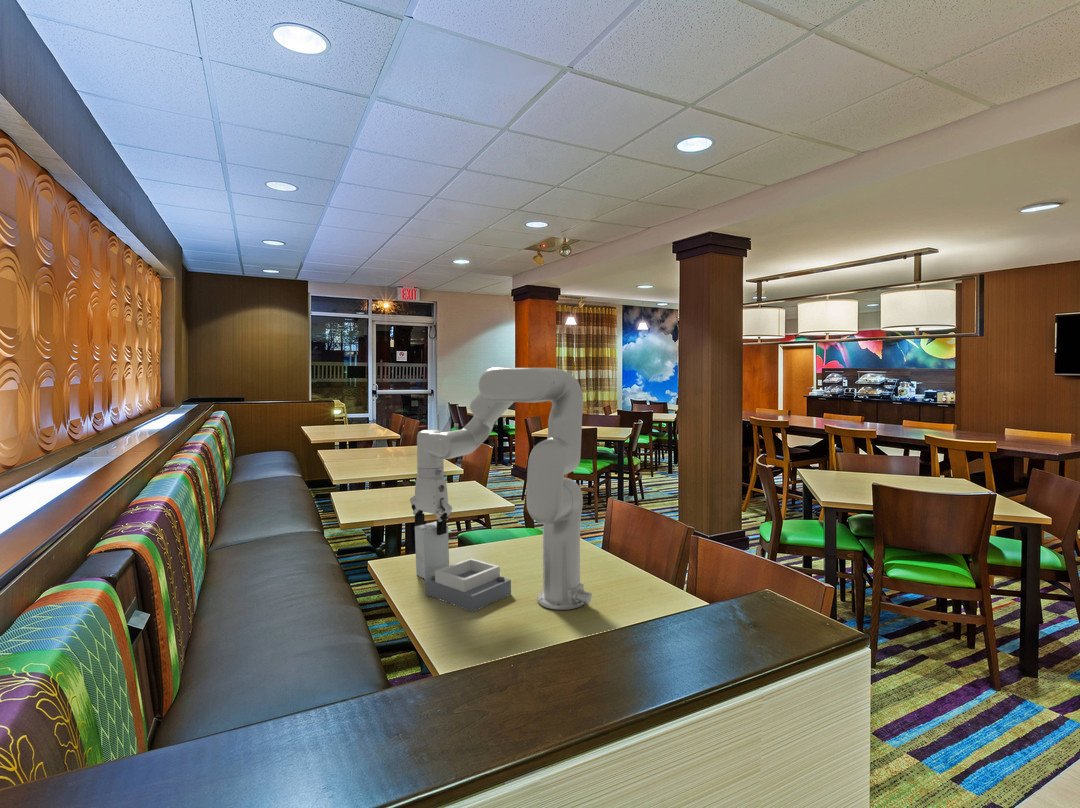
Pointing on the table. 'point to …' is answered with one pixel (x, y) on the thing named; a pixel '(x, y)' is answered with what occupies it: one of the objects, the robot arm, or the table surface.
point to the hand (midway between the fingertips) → (430, 530)
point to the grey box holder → (468, 584)
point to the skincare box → (430, 550)
